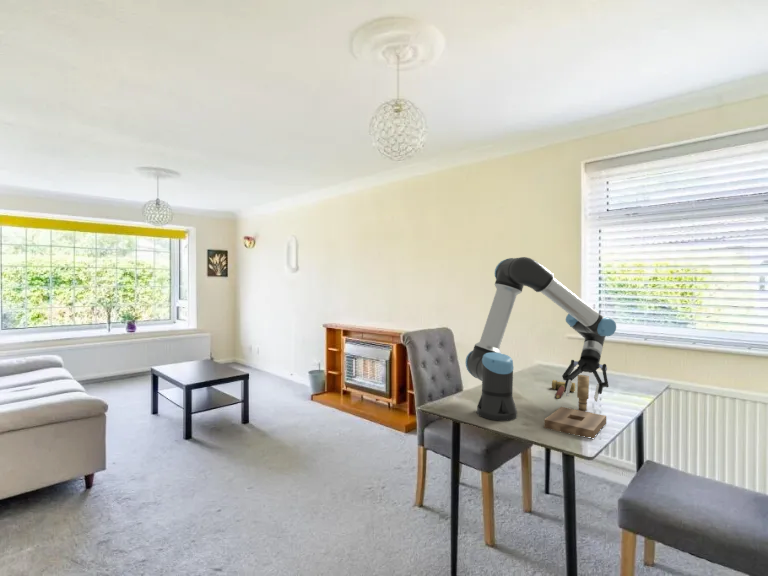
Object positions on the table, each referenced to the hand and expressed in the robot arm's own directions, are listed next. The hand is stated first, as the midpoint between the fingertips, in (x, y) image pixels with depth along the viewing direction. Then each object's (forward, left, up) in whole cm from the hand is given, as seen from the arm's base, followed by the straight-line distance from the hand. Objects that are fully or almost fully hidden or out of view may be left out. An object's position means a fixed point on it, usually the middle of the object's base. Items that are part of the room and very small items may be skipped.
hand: (580, 396), depth 163 cm
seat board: (+3, -19, -6) cm, 20 cm away
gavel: (-14, +22, -7) cm, 27 cm away
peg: (0, +3, -6) cm, 7 cm away
